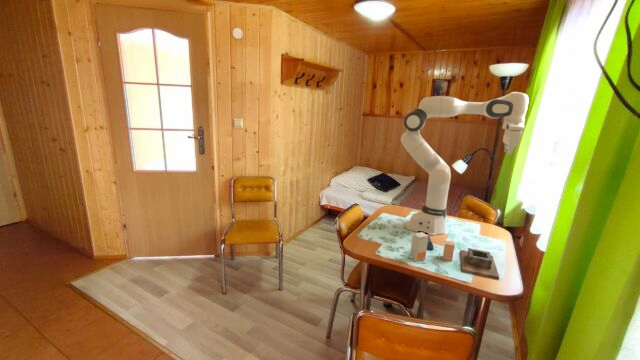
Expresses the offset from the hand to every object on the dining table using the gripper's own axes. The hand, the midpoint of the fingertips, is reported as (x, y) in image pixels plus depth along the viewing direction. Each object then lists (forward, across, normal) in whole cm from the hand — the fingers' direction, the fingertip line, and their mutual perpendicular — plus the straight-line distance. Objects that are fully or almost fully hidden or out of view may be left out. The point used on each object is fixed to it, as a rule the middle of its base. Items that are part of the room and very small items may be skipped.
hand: (507, 153), depth 152 cm
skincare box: (+48, +40, -36) cm, 72 cm away
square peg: (+48, +34, -23) cm, 63 cm away
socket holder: (+48, +34, -10) cm, 60 cm away
